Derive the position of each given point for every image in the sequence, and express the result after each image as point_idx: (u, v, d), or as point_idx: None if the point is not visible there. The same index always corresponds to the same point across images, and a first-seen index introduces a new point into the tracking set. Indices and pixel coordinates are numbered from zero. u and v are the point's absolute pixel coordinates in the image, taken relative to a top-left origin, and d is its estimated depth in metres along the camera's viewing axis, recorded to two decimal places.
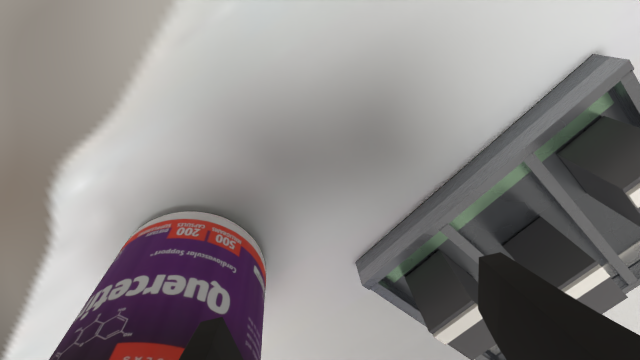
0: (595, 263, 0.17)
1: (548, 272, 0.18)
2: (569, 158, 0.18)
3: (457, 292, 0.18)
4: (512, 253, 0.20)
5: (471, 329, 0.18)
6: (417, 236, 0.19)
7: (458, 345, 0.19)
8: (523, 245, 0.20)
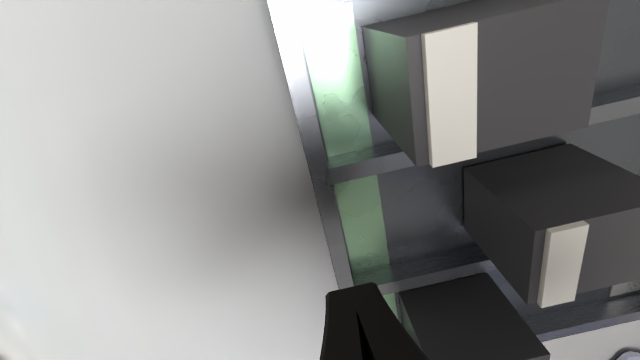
0: (539, 233, 0.09)
1: (510, 263, 0.11)
2: (380, 121, 0.11)
3: None
4: (474, 238, 0.13)
5: None
6: None
7: None
8: (475, 222, 0.13)
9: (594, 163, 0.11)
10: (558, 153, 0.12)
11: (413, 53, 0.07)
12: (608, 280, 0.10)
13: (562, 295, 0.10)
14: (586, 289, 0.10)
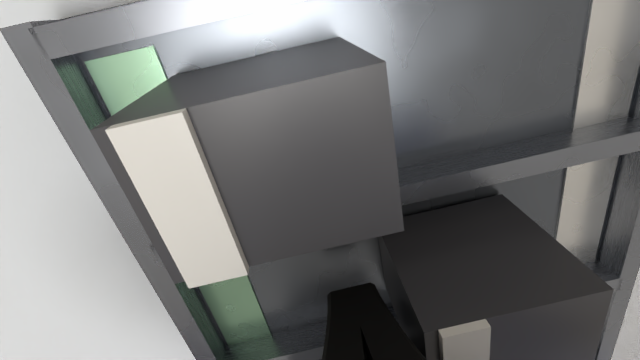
0: (429, 334, 0.07)
1: None
2: None
3: None
4: (392, 303, 0.11)
5: None
6: None
7: None
8: (390, 287, 0.11)
9: (521, 226, 0.09)
10: (484, 208, 0.10)
11: (110, 150, 0.05)
12: None
13: None
14: None
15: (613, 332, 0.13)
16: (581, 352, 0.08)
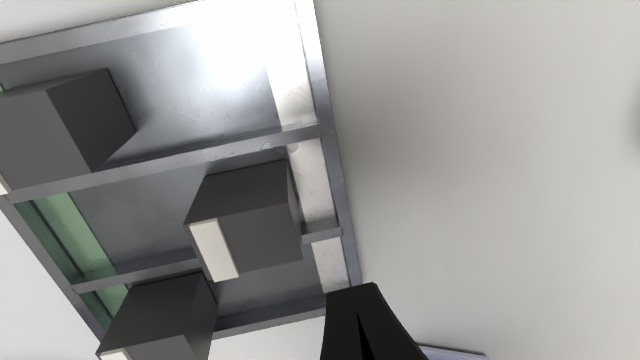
0: (186, 226, 0.13)
1: None
2: None
3: None
4: None
5: None
6: (78, 309, 0.18)
7: None
8: None
9: (277, 175, 0.15)
10: (269, 166, 0.16)
11: None
12: (264, 263, 0.14)
13: (225, 272, 0.14)
14: (251, 269, 0.14)
15: (355, 268, 0.19)
16: (290, 244, 0.14)
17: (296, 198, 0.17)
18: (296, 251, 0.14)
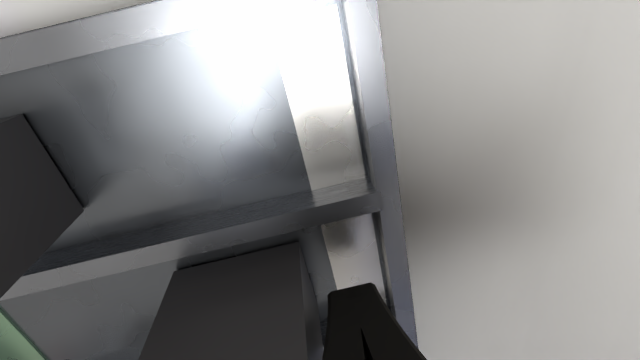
0: None
1: None
2: None
3: None
4: None
5: None
6: None
7: None
8: None
9: (286, 281, 0.09)
10: (273, 258, 0.10)
11: None
12: None
13: None
14: None
15: None
16: None
17: None
18: None
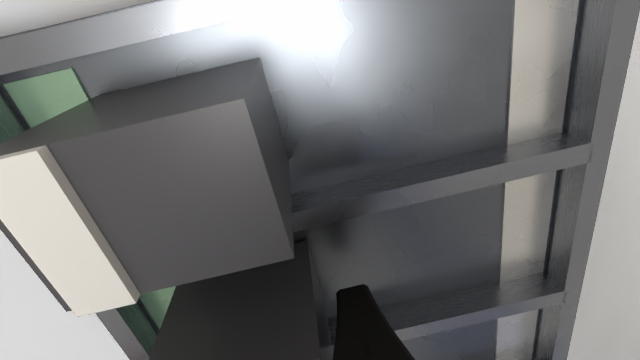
0: None
1: None
2: None
3: None
4: None
5: None
6: None
7: None
8: None
9: (296, 279, 0.09)
10: None
11: None
12: None
13: None
14: None
15: (564, 343, 0.13)
16: None
17: (321, 292, 0.12)
18: None
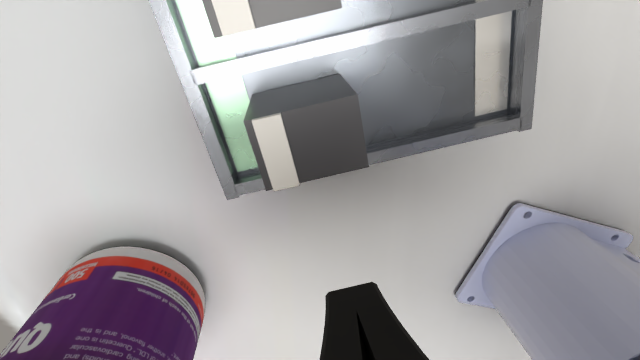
0: None
1: None
2: None
3: None
4: None
5: (302, 144, 0.12)
6: (193, 112, 0.15)
7: (321, 170, 0.13)
8: None
9: None
10: None
11: None
12: (289, 10, 0.10)
13: (237, 19, 0.10)
14: (271, 22, 0.10)
15: (532, 62, 0.15)
16: None
17: None
18: None
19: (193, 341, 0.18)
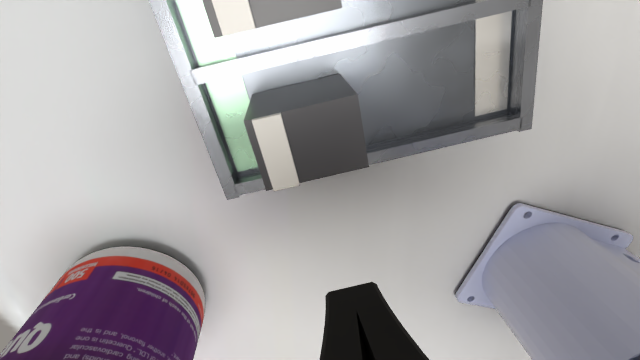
0: None
1: None
2: None
3: None
4: None
5: (302, 144, 0.12)
6: (193, 112, 0.15)
7: (321, 170, 0.13)
8: None
9: None
10: None
11: None
12: (290, 10, 0.10)
13: (238, 19, 0.10)
14: (271, 21, 0.10)
15: (532, 62, 0.15)
16: None
17: None
18: None
19: (193, 341, 0.18)
